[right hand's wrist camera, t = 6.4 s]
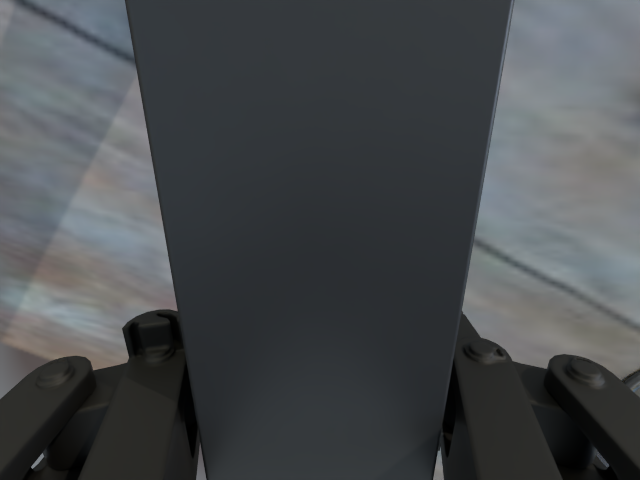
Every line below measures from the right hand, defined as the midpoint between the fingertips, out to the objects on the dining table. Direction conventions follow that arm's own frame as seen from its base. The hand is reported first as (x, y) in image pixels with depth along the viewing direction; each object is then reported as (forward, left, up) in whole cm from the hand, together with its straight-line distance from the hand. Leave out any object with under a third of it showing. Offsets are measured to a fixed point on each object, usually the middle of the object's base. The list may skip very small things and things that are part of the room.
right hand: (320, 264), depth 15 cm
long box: (+8, 0, 0) cm, 8 cm away
